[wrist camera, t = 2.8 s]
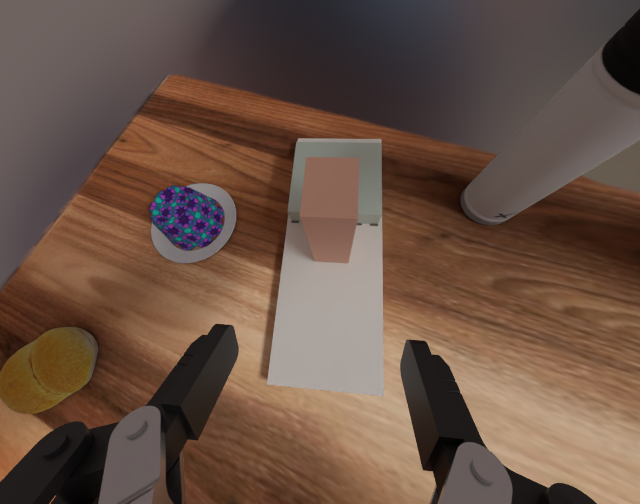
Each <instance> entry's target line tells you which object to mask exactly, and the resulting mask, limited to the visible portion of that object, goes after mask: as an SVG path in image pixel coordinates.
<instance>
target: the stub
mask: <svg viewBox="0 0 640 504" xmlns="http://www.w3.org/2000/svg"><path fill="white" fill-rule="evenodd" d="M358 191H359V158H339V157H306V163H305V172H304V181H303V191H302V200H301V209H300V219H301V222H302V225H303V228H304V231H305V234H306V237H307V240H308V243H309V246H310V249H311V252H312V254H313V257H314V260H315V262H334V263H349V258H350V253H351V249H352V244H353V239H354V234H355V230H356V225H357V220H358Z"/></svg>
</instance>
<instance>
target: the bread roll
mask: <svg viewBox="0 0 640 504" xmlns="http://www.w3.org/2000/svg"><path fill="white" fill-rule="evenodd" d="M97 354H98V345H97V341H96V340H95V338H94V337H93V336H92V335H91V334H90V333H89V332H87V331H86V330H84V329H81V328H77V327H60V328H54V329H51V330H49V331H47V332H45V333H43V334H42V335H41V336H40V337H39V338H38V339H36V340H35V341H33V342H31V343H29V344H28V345H26V346H24V347H23V348H21V349H19V350H18V351H17V352H16V353H15V354H14V355H13V356H11V357H10V358H9V359H8V360H7V362H6V363H5V364H4V366H3V368H2V370H1V372H0V397H1V399H2V400H3V401H4V403H5V404H6V405H7V406H8V407H9V408H10V409H12V410H14V411H16V412H19V413H23V414H34V413H38V412H42V411H45V410H47V409H50V408H52V407H53V406H55V405H57V404H58V403H59V402H61V401H62V400H63V399H65V398H66V397H67V396H69V395H70V394H72V393H74V392H76V391H78V390H79V389H81V388H82V387H83V386H84V385H86V384H87V383H88V381H89V380H90V379H91V377H92V374H93V371H94V368H95V364H96V359H97Z"/></svg>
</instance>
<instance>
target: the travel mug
mask: <svg viewBox="0 0 640 504" xmlns="http://www.w3.org/2000/svg"><path fill="white" fill-rule="evenodd" d="M639 140H640V9H639V10H638V11H637V12H636V13H635V14H634V15H633V16H632V17H631V18H630V19H629V20H628V22H627V23H626V24H625V26H624V27H622V28H621V29H620V30H619V31H618V32H617V33H616V34H615V35H614V36H613V37H612V38H610V39H609V40H608V41H607V42H606V43H605V44H604V45H603V46H602V47H601V48H600V49H599V50H598V51H597V53H596V54H594V55H593V56H592V57H591V58H590V59H589V60H588V62H587V63H586V64H585V65H584V66H583V67H582V68H581V69H580V70H579V71H578V72H577V73H576V74H575V75H574V76H573V77H572V78H571V79H570V80H569V81H568V82H567V83H566V84H565V85H564V86H563V88H561V90H560V91H559V92H558V93H557V94H556V95H555V96H554V97H553V98H552V99H551V100H550V101H549V102H548V103H547V104H546V105H545V106H544V107H543V108H542V109H541V110H540V112H538V114H537V115H535V117H534V118H533V119H532V120H531V121H530V122H529V123H528V124H527V125H526V126H525V127H524V128H523V129H522V130H521V131H520V132H519V133H518V134H517V135H516V136H515V137H514V138H513V139H512V140H511V141H510V142H509V144H508V145H507V146H506V147H505V148H504V149H503V150H502V151H501V152H500V153H499V154H498V155H497V156H496V157H495V158H494V159H493V160H492V161H491V162H490V163H489V164H488V165H487V166H486V167H485V168H484V169H483V171H482V172H481V173H480V174H479V175H478V176H477V177H476V178H475V179H474V180H473V181H472V182H471V183H470V184H469V185H468V186H467V187H466V188H465V189H464V190H463V192H462V194H461V197H460V202H461V207H462V209H463V211H464V213H465V214H466V215H467V216H468V217H469V218H470V219H472V220H473V221H475V222H477V223H480V224H483V225H498V224H500V223H503V222H504V221H506V220H508V219H509V218H511V217H513V216H514V215H516V214H518V213H519V212H521V211H523V210H524V209H526V208H528V207H529V206H531V205H533V204H534V203H536V202H538V201H539V200H541V199H543V198H544V197H546V196H548V195H549V194H551V193H553V192H554V191H556V190H558V189H559V188H561V187H563V186H564V185H566V184H568V183H569V182H571V181H573V180H574V179H576V178H578V177H579V176H581V175H583V174H584V173H586V172H587V171H589V170H591V169H593V168H594V167H596V166H598V165H599V164H601V163H603V162H604V161H606V160H608V159H609V158H611V157H613V156H614V155H616V154H618V153H619V152H621V151H623V150H624V149H626V148H628V147H629V146H631V145H633V144H634V143H636V142H637V141H639Z"/></svg>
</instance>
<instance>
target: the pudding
mask: <svg viewBox="0 0 640 504" xmlns="http://www.w3.org/2000/svg"><path fill="white" fill-rule="evenodd" d="M212 198H213V199H215V200H216V201H217V202H219V203H220V205H221V206H222V208H223V210H224V211H223V210H222V208H221V207H219V206H217V205H216V201H215V200H213V199H212ZM149 211H150V213H151V214H152V215H151V220H152V226H151V237H152V241H153V244H154V246H155V248H156V250H157V251H158V252H159V253H160V254H161V255H162V256H163V257H165V258H166V259H168V260H171V261H173V262H177V263H193V262H198V261H201V260H204V259H206V258H208V257H210V256H212V255H213V254H214V253H216V252H217V251H218V250H220V249H221V248H222V247H223V246H224V245H225V243H226V242H227V241H228V239H229V238H230V236H231V234H232V232H233V230H234V227H235V223H236V208H235V204H234V202H233V200H232V198H231V197H230V195H229V194H228V193H227V192H226V191H225V190H223V189H222V188H220V187H218V186H215V185H212V184H206V183H198V184H192V185H189V186H182V187H180V186H170V187H168V188H167V189H166V190H165V191H160V192H159V193H158V194H157V195H156V196H155V200H154V201H153V202H152V203H151V205H150V207H149ZM224 214H225V222H224V226H223V224H222V222H221V220H222V218H223V217H224ZM222 227H223V229H222ZM221 230H222V231H221ZM220 232H221V233H220ZM219 233H220V235H219V236H218V237H217V238H216V239H215V240H214V241H213V242H212V239H213V237H214V236H216V235H218V234H219ZM169 240H170V241H171V242H172V243H173V244H178V245H179V246H180V247H181V248H182V249H184V250H181V249H178V248H176V247H175V246H174V245H173V244H172V243H171V242H170V241H169ZM211 242H212V243H211ZM210 243H211V244H210ZM207 245H208V246H207ZM196 246H197V247H201V248H202V247H204V248H202V249H199V250H195V251H185V250H192V249H194V248H195V247H196ZM205 246H206V247H205Z"/></svg>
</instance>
